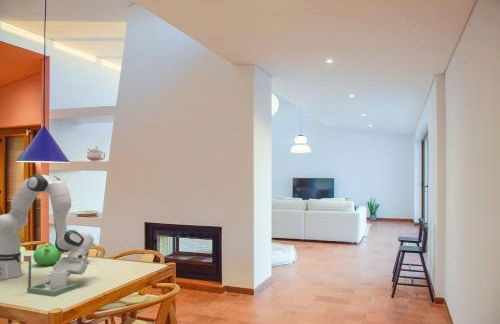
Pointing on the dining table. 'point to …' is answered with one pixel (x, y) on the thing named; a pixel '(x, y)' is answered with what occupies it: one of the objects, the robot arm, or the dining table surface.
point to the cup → (56, 279)
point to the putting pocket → (38, 288)
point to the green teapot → (46, 255)
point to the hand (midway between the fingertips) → (62, 279)
